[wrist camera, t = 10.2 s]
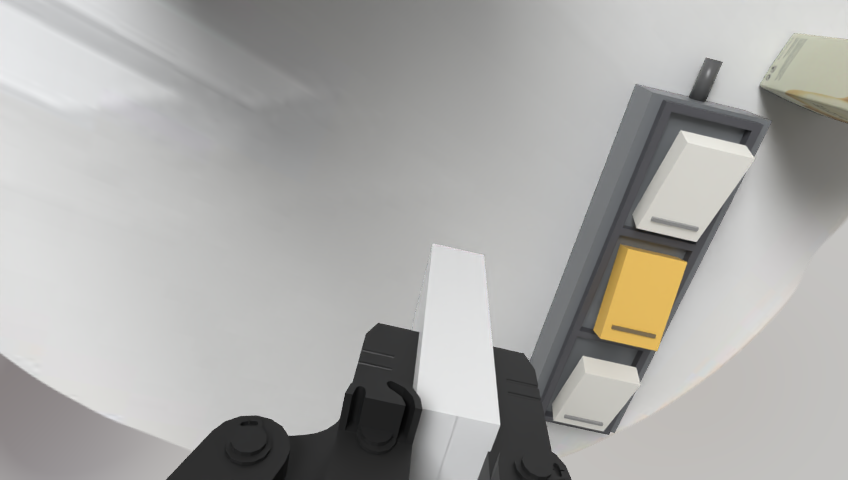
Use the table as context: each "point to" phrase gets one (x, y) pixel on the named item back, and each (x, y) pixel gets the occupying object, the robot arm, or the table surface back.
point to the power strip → (631, 228)
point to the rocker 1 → (595, 393)
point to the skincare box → (812, 75)
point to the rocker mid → (639, 297)
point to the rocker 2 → (691, 185)
